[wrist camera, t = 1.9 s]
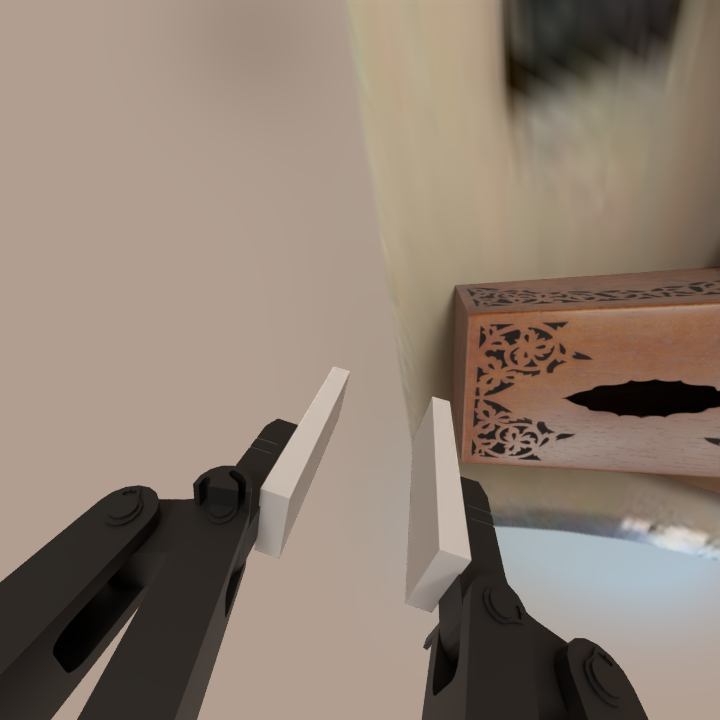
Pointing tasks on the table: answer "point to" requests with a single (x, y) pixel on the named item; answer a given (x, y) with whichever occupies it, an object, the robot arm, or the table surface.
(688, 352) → the tissue box cover
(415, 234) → the table surface
